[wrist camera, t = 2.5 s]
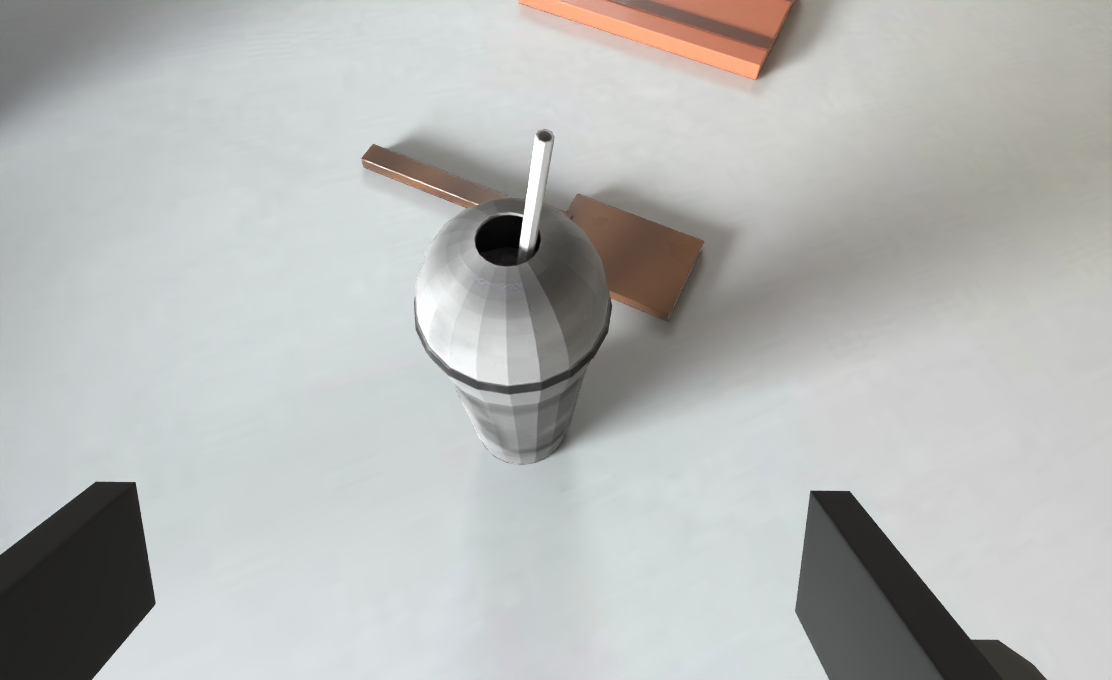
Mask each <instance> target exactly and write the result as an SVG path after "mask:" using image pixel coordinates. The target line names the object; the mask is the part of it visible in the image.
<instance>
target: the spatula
mask: <svg viewBox="0 0 1112 680" xmlns="http://www.w3.org/2000/svg"><path fill="white" fill-rule="evenodd" d="M361 160H362V163H363V166H364V167H365V168H367V169H370V170H372V171H375V172H377V173H380V174H382V175H385V176H387V177H390V178H392V179H395V180H397V181H400V182H403V183H405V184H408V185H410V186H413V187H415V188H418V189H420V190H423V191H425V192H428V193H430V194H433V195H435V196H438V197H440V198H443V199H446V200H448V201H451V202H453V203H456V204H458V205H461V206H463V207H466V208H470V207H472V206H475V205H478V204H480V203H483V202H486V201H488V200H493V199H502V198H511V197H510V196H507V195H504V194H502V193H499V192H497V191H494V190H491V189H489V188H486V187H484V186H481V185H479V184H476V183H473V182H471V181H468V180H466V179H463V178H460V177H458V176H455V175H453V174H450V173H447V172H445V171H442V170H440V169H437V168H434V167H432V166H429V165H427V164H424V163H422V162H419V161H416V160H414V159H411V158H409V157H406V156H403V155H401V154H398V153H396V152H393V151H390V150H388V149H385V148H383V147H380V146H378V145H375V144H373V145H372V146H371V147H370V148H369V150H368V151H367V152H366V153H365V154H364V156H363V157H362V158H361ZM547 206H548V205H547ZM550 207H551V206H550ZM552 208H553V207H552ZM555 209H556V208H555ZM557 210H558V209H557ZM559 211H561V210H559ZM561 212H562V213H563V214H564V215H566V216H567V217H568V218H569V219H571V220H572V221H573V222H574V223H576V224H577V225H578V226H579V227H580V228H581V229H583V230H584V232H585V233H586V235H587V237H588V238H589V240H590V241H591V243H592V244H593V246H594V248H595V249H596V251H597V252H598V254H599V256H600V257H601V260H602V264H603V268H604V273H605V277H606V280H607V285H608V289H609V294H610V298H612V299H614V300H617V301H619V302H622V303H624V304H627V305H629V306H632V307H634V308H637V309H639V310H642V311H644V312H647V313H649V314H651V315H654V316H656V317H659V318H661V319H664V320H666V321H668V320H669V318H670V315H671V313H672V311H673V309H674V307H675V305H676V303H677V300H678V298H679V296H680V294H681V292H682V290H683V288H684V285H685V283H686V281H687V279H688V277H689V275H690V273H691V270H692V268H693V266H694V264H695V262H696V260H697V258H698V255H699V253H700V251H701V249H702V246H703V243H704V241H702V240H700V239H697V238H694V237H692V236H689V235H686V234H684V233H681V232H678V231H676V230H673V229H671V228H668V227H665V226H663V225H660V224H657V223H655V222H652V221H649V220H647V219H644V218H641V217H639V216H636V215H633V214H631V213H628V212H625V211H623V210H620V209H618V208H615V207H612V206H610V205H607V204H604V203H602V202H599V201H596V200H594V199H591V198H588V197H586V196H583V195H580V194H577V196H576V197H575V199H574V201H573V202H572V204H571V206H570V207H569V209H568V211H567V212H564V211H561Z"/></svg>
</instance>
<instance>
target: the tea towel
mask: <svg viewBox="0 0 1112 680" xmlns="http://www.w3.org/2000/svg"><path fill="white" fill-rule="evenodd" d="M794 1H795V0H519V3H521V4H524V5H527V6H530V7H533V8H536V9H540V10H543V11H546V12H549V13H552V14H555V15H558V16H561V17H564V18H567V19H570V20H573V21H576V22H580V23H583V24H586V25H589V26H592V27H595V28H598V29H601V30H604V31H607V32H610V33H613V34H616V35H620V36H623V37H626V38H629V39H632V40H635V41H638V42H641V43H644V44H647V45H650V46H653V47H656V48H659V49H663V50H666V51H669V52H672V53H675V54H678V55H681V56H684V57H687V58H690V59H693V60H696V61H699V62H703V63H706V64H709V65H712V66H715V67H718V68H721V69H724V70H727V71H730V72H733V73H736V74H739V75H743V76H746V77H749V78H752V79H755V80H756V79H757V76H758V74H759V72H760V70H761V68H762V66H763V64H764V62H765V60H766V58H767V56H768V54H769V52H770V50H771V48H772V46H773V44H774V42H775V40H776V38H777V36H778V34H779V32H780V30H781V28H782V26H783V23H784V21H785V19H786V17H787V15H788V13H789V11H790V9H791V7H792V5H793V3H794Z"/></svg>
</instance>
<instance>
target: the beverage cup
mask: <svg viewBox="0 0 1112 680" xmlns="http://www.w3.org/2000/svg"><path fill="white" fill-rule="evenodd" d="M554 138H555V137H554V135H553V133H552V132H551V131H549V130H546V129H543V130H538V132H537V134H536V135H535V142H534V149H533V156H532V163H531V170H530V176H529V183H528V190H527V197H526V199H520V198H513V197H511V198H502V199H493V200H488V201H486V202H483V203H480V204H478V205H475V206H472V207H470V208H467V209H465V210H464V211H462V212H461V213H460V214H458V215H457V216H455V217H454V218H453V219H451V220H450V221H448V222H447V223H446V224H445V225H444V226H443V227H442V229H441V230H440V231H439V233H438V234H437V235H436V237H435V238H434V239H433V241H432V242H431V243H430V245H429V246H428V247H427V249H426V252H425V254H424V257H423V260H422V263H421V266H420V270H419V273H418V276H417V279H416V287H415V291H416V296H415V301H414V309H415V325H416V331H417V333H418V335H419V338H420V340H421V342H422V344H423V346H424V348H425V351H426V353H427V355H428V356H429V357H430V358H431V359H432V360H433V361H434V362H435V363H436V364H437V365H438V366H439V367H440V368H441V370H442V371H443V372H444V373H445V374H446V375H447V376H448V377H449V378H450V379H451V381H452V383H453V385H454V387H455V389H456V391H457V393H458V395H459V397H460V399H461V401H462V403H463V405H464V407H465V409H466V411H467V413H468V416H469V418H470V420H471V422H472V424H473V426H474V428H475V430H476V432H477V434H478V436H479V438H480V439H481V440H482V441H483V443H484V445H485V447H486V448H487V449H488V450H489V451H490V452H491V453H492V454H493V455H494V456H495V457H497V458H499V459H501V460H503V461H505V462H507V463H513V464H520V465H523V464H530V463H536V462H538V461H540V460H542V459H544V458H547V457H548V456H549V455H551V454H552V453H553V452H554V451H555V450H556V449H557V448H558V447H559V445H560V443H561V441H562V440H563V438H564V436H565V432H566V430H567V428H568V427H569V425H570V421H571V418H572V415H573V411H574V408H575V405H576V401H577V398H578V395H579V392H580V388H581V385H582V382H583V378H584V375H585V372H586V368H587V366H588V364H589V362H590V361H591V359H593V358H594V356H595V355H596V353H597V351H598V349H599V348H600V346H601V344H602V342H603V340H604V339H605V337H606V335H607V333H608V329H609V323H610V316H611V310H612V303H611V298H610V294H609V289H608V285H607V280H606V277H605V273H604V268H603V264H602V260H601V257H600V256H599V254H598V252H597V251H596V249H595V248H594V246H593V244H592V243H591V241H590V240H589V238H588V237H587V235H586V233H585V232H584V230H583V229H581V228H580V227H579V226H578V225H577V224H576V223H574V222H573V221H572V220H571V219H569V218H568V217H567V216H566V215H564V214H563V213H562V212H561V211H559V210H557V209H555V208H552V207H550V206H547V205H545V204H543V201H544V195H545V189H546V184H547V178H548V172H549V166H550V161H551V155H552V149H553V143H554Z"/></svg>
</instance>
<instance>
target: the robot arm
mask: <svg viewBox="0 0 1112 680" xmlns="http://www.w3.org/2000/svg"><path fill="white" fill-rule="evenodd" d="M155 604H156V603H155V597H154V591H153V585H152V579H151V573H150V567H149V561H148V554H147V548H146V542H145V536H144V530H143V524H142V518H141V512H140V506H139V500H138V494H137V488H136V482H95V483H94V484H92V485H91V486H90V487H88V488H87V489H86V490H85V491H83V492H82V493H81V494H79V495H78V496H77V497H75V498H74V499H73V500H71V501H70V502H69V503H68V504H66V505H65V506H64V507H62V508H61V509H60V510H58V511H57V512H56V513H54V514H53V515H52V516H51V517H49V518H48V519H47V520H45V521H44V522H43V523H41V524H40V525H39V526H37V527H36V528H35V529H34V530H32V531H31V532H30V533H28V534H27V535H26V536H24V537H23V538H22V539H21V540H19V541H18V542H17V543H15V544H14V545H13V546H11V547H10V548H9V549H7V550H6V551H5V552H4V553H2V554H1V555H0V680H92V679H93V678H94V676H95V675H96V674H97V673H98V672H99V671H100V669H101V668H102V667H103V666H104V665H105V663H106V662H107V661H108V660H109V659H110V658H111V656H112V655H113V654H114V653H115V652H116V650H117V649H118V648H119V647H120V646H121V644H122V643H123V642H124V641H125V640H126V639H127V637H128V636H129V635H130V634H131V633H132V631H133V630H134V629H135V628H136V627H137V625H138V624H139V623H140V622H141V621H142V620H143V618H144V617H145V616H146V615H147V614H148V612H149V611H150V610H151V609H152V608H153V607H154V605H155ZM795 612H796V614H797V616H798V618H799V620H800V622H801V624H802V626H803V628H804V630H805V632H806V634H807V636H808V638H809V640H810V642H811V644H812V646H813V648H814V650H815V652H816V654H817V656H818V658H819V660H820V662H821V664H822V666H823V668H824V670H825V672H826V674H827V676H828V678H829V680H1047V679H1046V678H1045V677H1044V676H1043V675H1042V674H1041V673H1040V672H1039V670H1038V669H1037V668H1036V667H1035V666H1034V665H1033V664H1032V663H1031V662H1029V661H1028V660H1026V659H1025V658H1023V657H1022V656H1020V655H1019V654H1018V653H1016V652H1015V651H1013V650H1012V649H1010V648H1009V647H1007V646H1006V645H1005V644H1003V643H1002V642H1000V641H999V640H971V639H970V638H969V637H968V636H967V634H966V633H965V632H964V631H963V630H962V628H961V627H960V626H959V625H958V623H957V622H956V621H955V620H954V619H953V617H952V616H951V615H950V614H949V612H948V611H947V610H946V609H945V608H944V606H943V605H942V604H941V603H940V601H939V600H938V599H937V598H936V596H935V595H934V594H933V593H932V592H931V590H930V589H929V588H928V587H927V585H926V584H925V583H924V582H923V581H922V579H921V578H920V577H919V576H918V574H917V573H916V572H915V571H914V569H913V568H912V567H911V566H910V565H909V563H908V562H907V561H906V560H905V558H904V557H903V556H902V555H901V554H900V552H899V551H898V550H897V549H896V547H895V546H894V545H893V544H892V542H891V541H890V540H889V539H888V538H887V536H886V535H885V534H884V533H883V531H882V530H881V529H880V528H879V527H878V525H877V524H876V523H875V522H874V520H873V519H872V518H871V517H870V515H869V514H868V513H867V512H866V511H865V509H864V508H863V507H862V506H861V504H860V503H859V502H858V501H857V500H856V498H855V497H854V496H853V495H852V493H851V492H850V491H810V499H809V507H808V514H807V522H806V530H805V538H804V546H803V554H802V562H801V570H800V578H799V586H798V594H797V601H796V609H795Z"/></svg>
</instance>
